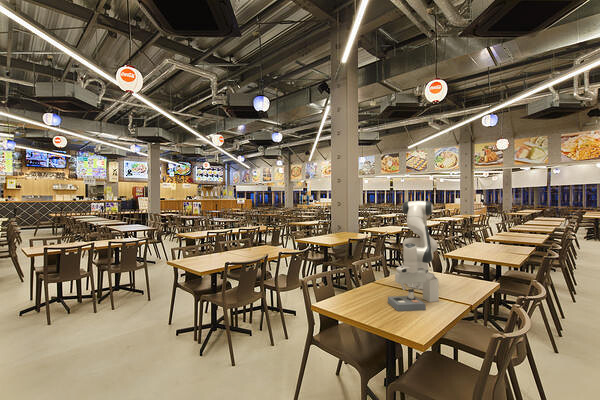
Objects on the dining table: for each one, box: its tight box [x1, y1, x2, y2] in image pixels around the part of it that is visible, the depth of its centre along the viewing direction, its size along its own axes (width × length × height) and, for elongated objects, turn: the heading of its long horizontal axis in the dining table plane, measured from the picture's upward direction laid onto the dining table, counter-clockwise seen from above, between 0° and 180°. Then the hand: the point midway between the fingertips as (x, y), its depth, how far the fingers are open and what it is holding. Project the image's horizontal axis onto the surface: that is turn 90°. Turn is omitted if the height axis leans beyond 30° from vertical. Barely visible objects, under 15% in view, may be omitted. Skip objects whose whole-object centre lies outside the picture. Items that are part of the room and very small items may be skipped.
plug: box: [407, 288, 415, 300], centre depth 190 cm, size 4×4×10 cm
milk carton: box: [422, 271, 440, 303], centre depth 198 cm, size 7×7×19 cm
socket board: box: [387, 295, 427, 312], centre depth 187 cm, size 16×18×4 cm
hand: (410, 289), depth 190 cm, fingers open, 8 cm apart
